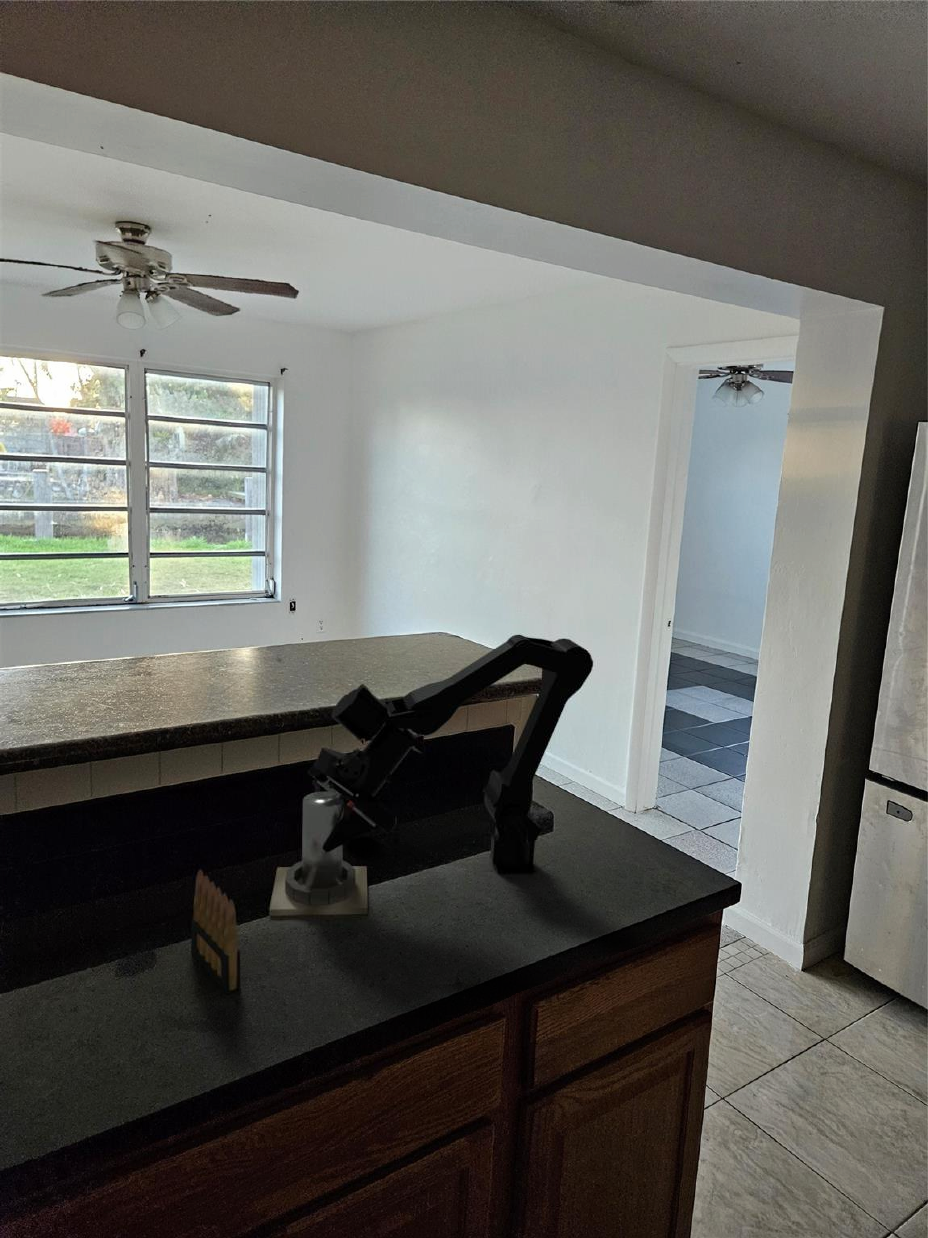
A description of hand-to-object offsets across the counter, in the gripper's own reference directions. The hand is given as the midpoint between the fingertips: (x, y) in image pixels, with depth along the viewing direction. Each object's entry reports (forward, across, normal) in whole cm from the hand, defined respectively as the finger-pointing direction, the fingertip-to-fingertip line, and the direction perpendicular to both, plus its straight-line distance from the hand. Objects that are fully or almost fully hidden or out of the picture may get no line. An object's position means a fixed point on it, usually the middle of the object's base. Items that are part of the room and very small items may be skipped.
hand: (314, 842), depth 117 cm
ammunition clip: (+19, +9, -7) cm, 23 cm away
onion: (-4, -13, +17) cm, 22 cm away
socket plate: (+5, 0, +7) cm, 9 cm away
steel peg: (+4, 0, +6) cm, 7 cm away
